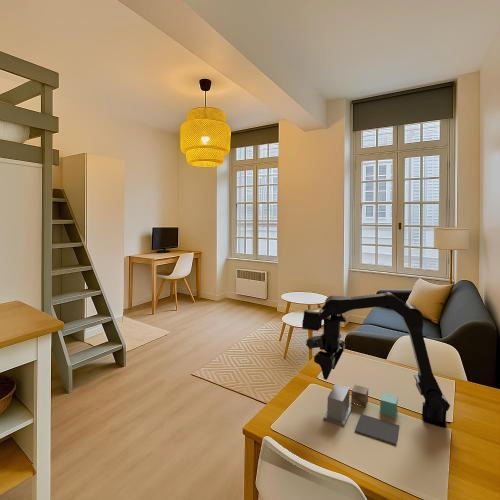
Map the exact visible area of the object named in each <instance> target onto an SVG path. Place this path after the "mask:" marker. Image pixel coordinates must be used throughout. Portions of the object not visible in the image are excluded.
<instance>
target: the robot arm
mask: <svg viewBox="0 0 500 500" xmlns="http://www.w3.org/2000/svg"><path fill="white" fill-rule="evenodd" d="M379 307H389V308H390V309H392V310H393V311H394V312H396V314H398V315H399V316H400V317H401V319H402V321H403V323H404V324H403V325H405V327H406V329H407V331H408V335H409V339H410V343H411V345H412V346H411V347H412V350H413V354H414V359H415V363H416V366H417V374H413V377H414V380H415V386H416V388H417V391H418V392H419V394H420V396H423V399H424V401H423V402H422V410H421V411H422V413H421V417H422V419H423V423H425V424H429V425H432V426H436V427H440V428H443V429H446V428H447V412H448V411H449V409H450V407H451V404H450V403H449V402H448V400H447V399H446V397H445V395H444V394H443V392H442V390H441V387H440V386H439V383H438V381H437V379H436V377H435V376H434V373H433V370H432V365H431V363H430V362H431V361H430V359H429V354H428V350H427V345H426V342H425V339H424V338H425V337H424V333H423V331H424V316H423V313H422V312H421V310H420V309H418V307H417V306H416V305H414V304H412V303H406V302H405V301H403V300H402V299H400V298H398V297H397V296H396V295H394V294H393V293H392V292H389V291H385V292H384V293H376V294H365V295H358V296H351V297H350V296H343V295H330V296H327V298H325V300H324V305H322V307H321V308H320V309H318V310H319V311H313V310H312V311H311V310H307V309H305V310H304V311H303V318H302V324H301V325H302V326H301V327H302V328H301V329H302V330H307V331H314V332H315V331H316V332H319V331H320V329H322V326H323V330H322V331H323V332H322V334H321V335H314V336H310V337H309V338H308V339H306V344H305V345H306V347H307V348H308V350H313V349H317V348H319V351H317V353H316V354H315V355H314V357H313V362H314V363H315V364H317V365H319V366H320V369H321V373H322V377H323V380H325V381H326V380H328V379H329V376H330V374H331V372H332V370H335V369H336V366H337V365H338V362H339V360H340V359H341V358H342V357H341V356H342V355H343V353H344V352H345V348H346V342H345V341H344V340H343V339H341V338H342V334H341V323H346V322H347V318H346V317H345V316H344V315H343V314H345V313H348V312H350V311H353V310H360V309H361V310H362V309H369V308H370V309H371V308H379ZM322 324H323V325H322ZM323 350H324V351H323Z"/></svg>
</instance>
